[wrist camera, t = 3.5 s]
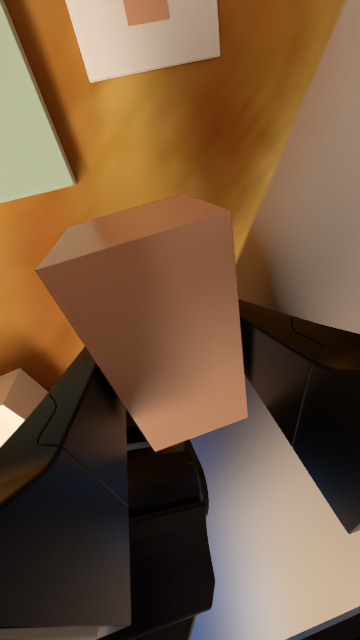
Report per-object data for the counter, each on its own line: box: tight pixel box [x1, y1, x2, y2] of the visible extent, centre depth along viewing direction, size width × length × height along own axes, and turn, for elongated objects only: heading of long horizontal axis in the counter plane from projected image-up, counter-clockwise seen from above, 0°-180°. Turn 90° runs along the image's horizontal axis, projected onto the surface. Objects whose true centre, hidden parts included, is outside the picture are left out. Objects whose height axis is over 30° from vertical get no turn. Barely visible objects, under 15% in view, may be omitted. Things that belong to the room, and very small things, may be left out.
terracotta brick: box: [35, 193, 248, 452], centre depth 8 cm, size 8×4×4 cm, turn 13°
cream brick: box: [0, 368, 49, 447], centre depth 21 cm, size 8×4×4 cm, turn 18°
